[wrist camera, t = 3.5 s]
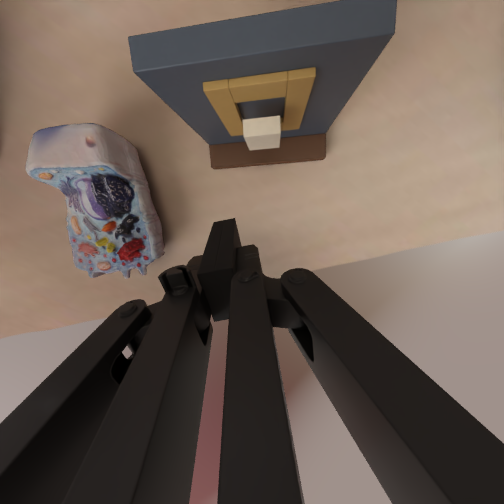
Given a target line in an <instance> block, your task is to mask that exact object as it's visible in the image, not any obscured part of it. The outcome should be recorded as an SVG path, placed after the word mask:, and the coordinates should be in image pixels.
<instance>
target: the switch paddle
mask: <svg viewBox="0 0 504 504" xmlns="http://www.w3.org/2000/svg"><path fill="white" fill-rule="evenodd" d="M243 135H244V139H245V141H246V143H247V146H248V148H249V150H259V149H270V148H279V147H280V135H281V128H280V116H271V117H262V118H253V119H245V120H243Z"/></svg>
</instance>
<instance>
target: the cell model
mask: <svg viewBox="0 0 504 504" xmlns="http://www.w3.org/2000/svg"><path fill="white" fill-rule="evenodd" d="M26 172H27V174H28V175H29V176H30V177H32V178H34V179H36V180H38V181H40V182H43V183H46V184H48V185H51V186H53V187H56V188H58V189H60V190H61V191H62V192H63V193H64V195H65V196H66V204H67V209H68V214H67V218H66V220H67V222H68V225H67V227H66V228H67V230H68V234H69V240H70V244H71V246H72V253H73V257H74V260H73V261H74V264H75V266H76V268H78V269H81V270H86V271H87V272H88V274H89V277H90V278H94V277H98V276H100V275H103V274H106V273H113V272H116V271H121V272H122V273H123V276H124V278H126V279H127V278H129V277H130V270H131V269H132V268H136V269H138V271H139V272H140V274H142V275H146V274H147V270H146V267H147V265H148V264H150V263H151V262H153V261H154V260H155V259H157V258H159V257H161V256H162V255H164V253H165V252H164V251H163V250H164V243H163V237H162V226H161V222H160V219H159V216H158V214H157V212H156V210H155V208H154V205H153V203H152V200H151V196H150V189H149V187H148V182H147V180H146V175H145V173H144V171H143V169H142V166H141V163H140V160H139V155H138V151H137V150H136V148H135V147H134V146H133V145H132V144H131V143H130V142H129V141H127V140H126V139H125V138H123V137H122V136H120V135H118V134H117V133H115V132H114V131H112V130H110V129H108V128H105V127H103V126H101V125H97V124H94V123H82V124H72V125H61V126H55V127H49V128H45V129H41V130H38V131H37V132H35V133H34V134H33V137H32V141H31V144H30V146H29V151H28V158H27V162H26Z"/></svg>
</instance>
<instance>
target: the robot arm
mask: <svg viewBox="0 0 504 504" xmlns="http://www.w3.org/2000/svg"><path fill="white" fill-rule="evenodd" d="M158 278H159V280H160V282H161V284H162V286H163V288H164V291H165V295H164V297H163V299H162V301H160V302H157V303H155V304H152V305H150V306H147V304H146V302H145V301H144V300H141V299H137V300H132V301H130V302H126V303H125V304H124V305H122V306H120V307H119V308H118V309H116V310H115V311H114V312H113V313H112V314H111V315H110V316H109V317H108V318H107V319H106V320H105V321H104V322H103V323H102V324H101V325H100V326H99V327H98V328H97V329H96V330H95V331H94V332H93V333H92V334H91V335H90V336H89V337H88V338H87V339H86V340H85V341H84V342H83V343H82V344H81V345H80V346H79V347H78V348H77V349H76V350H75V351H74V352H72V354H70V356H68V357H67V358H66V359H65V360H64V361H63V362H62V363H61V365H59V367H57V368H56V369H55V370H54V371H53V372H52V373H51V374H50V375H49V376H48V377H47V378H46V379H45V380H44V381H43V382H42V383H41V384H40V385H39V386H38V387H37V388H36V389H35V390H34V391H33V392H32V393H31V394H30V395H29V396H28V397H27V398H26V399H25V400H24V401H23V402H22V403H21V404H20V405H19V406H18V407H17V408H16V409H15V410H14V411H13V412H12V413H11V414H10V415H9V416H8V417H6V418H5V419H4V420H3V422H2V423H1V424H0V504H189V499H190V492H191V485H192V477H193V471H194V463H195V456H196V449H197V441H198V434H199V427H200V419H201V412H202V405H203V398H204V391H205V384H206V376H207V368H208V362H209V355H210V354H209V353H210V347H211V340H212V333H213V328H212V325H211V322H210V318H211V314H212V317H213V319H214V322H215V321H220V320H226V319H229V325H228V341H227V342H228V343H227V359H226V373H225V390H224V406H223V421H222V437H221V454H220V470H219V487H218V502H217V503H218V504H305V503H304V498H303V493H302V487H301V481H300V476H299V471H298V465H297V460H296V454H295V449H294V443H293V437H292V432H291V427H290V421H289V415H288V410H287V404H286V398H285V393H284V388H283V382H282V376H281V371H280V365H279V360H278V354H277V349H276V343H275V338H274V331H273V327H280V328H288V330H289V333H290V334H291V336H292V337H293V339H294V341H295V343H296V344H297V346H298V347H299V349H300V351H301V352H302V354H303V356H304V357H305V359H306V361H307V362H308V364H309V366H310V367H311V369H312V371H313V372H314V374H315V376H316V377H317V379H318V381H319V382H320V384H321V386H322V387H323V389H324V391H325V392H326V394H327V396H328V397H329V399H330V401H331V402H332V404H333V406H334V407H335V409H336V411H337V412H338V414H339V416H340V417H341V419H342V421H343V422H344V424H345V426H346V427H347V429H348V431H349V432H350V434H351V436H352V437H353V439H354V440H355V442H356V444H357V445H358V447H359V449H360V451H361V452H362V454H363V456H364V457H365V459H366V461H367V462H368V464H369V465H370V467H371V469H372V471H373V472H374V474H375V475H376V477H377V479H378V480H379V482H380V484H381V485H382V487H383V489H384V490H385V492H386V494H387V495H388V497H389V498H390V500H391V502H392V504H504V444H503V443H502V442H501V441H500V440H499V439H498V438H497V437H496V436H495V435H493V434H492V433H491V432H490V431H489V430H488V429H486V427H484V426H483V425H482V424H481V423H480V422H479V421H478V420H477V419H476V418H475V417H473V416H472V415H471V414H470V413H469V412H468V411H467V410H466V409H464V408H463V407H462V406H461V405H460V404H459V403H458V402H457V401H456V400H454V399H453V398H452V397H451V396H450V395H449V394H448V393H447V392H445V391H444V390H443V389H442V388H441V387H440V386H439V385H437V383H435V382H434V381H433V380H432V379H431V378H430V377H429V376H428V375H426V374H425V373H424V372H423V371H422V370H421V369H420V368H419V367H418V366H416V365H415V364H414V363H413V362H412V361H411V360H410V359H409V358H408V357H406V356H405V355H404V354H403V353H402V352H401V351H400V350H398V348H396V347H395V346H394V345H393V344H392V343H391V342H390V341H389V340H387V339H386V338H385V337H384V336H383V335H382V334H381V333H380V332H379V331H377V330H376V329H375V328H374V327H373V326H372V325H371V324H370V323H369V322H367V321H366V320H365V319H364V318H363V317H362V316H361V315H360V314H358V313H357V312H356V311H355V310H354V309H353V308H352V307H351V306H349V305H348V304H347V303H346V302H345V301H344V300H343V299H342V298H341V297H340V296H338V295H337V294H336V293H335V292H334V291H333V290H331V288H329V287H328V286H327V285H326V284H325V283H324V282H323V281H322V280H321V279H319V278H318V277H317V276H316V275H315V274H314V273H313V272H311V271H309V270H307V269H303V268H295V269H291V270H288V271H286V272H284V273H283V274H282V275H281V278H280V279H275V278H269V277H267V276H265V275H264V274H263V273H262V268H261V263H260V258H259V252H258V248H257V247H256V246H255V245H248V246H241V242H240V238H239V234H238V229H237V225H236V221H235V218H233V219H228V220H223V221H218V222H214V223H213V226H212V229H211V232H210V235H209V238H208V241H207V244H206V247H205V250H204V253H203V255H200V256H195V257H193V258H192V259H191V260H190V261H189V262H188V264H187V266H185V265H179V266H175V267H172V268H169V269H167V270H165V271H164V272H163V273H161V274H160V275H159V277H158ZM126 346H128V347H129V349H130V350H131V352H132V355H131V356H130V357H129V358H128V359H126V358H125V356H124V355H123V354H122V351H123V350H124V349H125V347H126Z"/></svg>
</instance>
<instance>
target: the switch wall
mask: <svg viewBox="0 0 504 504" xmlns="http://www.w3.org/2000/svg"><path fill="white" fill-rule="evenodd" d="M396 7H397V0H340V1H334V2H328V3H322V4H316V5H311V6H305V7H299V8H293V9H287V10H281V11H275V12H270V13H264V14H258V15H252V16H246V17H240V18H235V19H229V20H223V21H217V22H211V23H205V24H199V25H194V26H188V27H182V28H176V29H170V30H164V31H158V32H153V33H147V34H141V35H135V36H129V37H128V40H129V47H130V53H131V60H132V66H133V71H134V73H135V74H136V75H137V76H138V77H139V78H140V79H141V80H142V81H143V82H144V83H145V84H146V85H148V86H149V87H150V88H151V89H152V90H153V91H154V92H155V93H156V94H157V95H158V96H159V97H160V98H161V99H162V100H163V101H164V102H165V103H166V104H167V105H168V106H169V107H170V108H171V109H173V110H174V111H175V112H176V113H177V114H178V115H179V116H180V117H181V118H182V119H183V120H184V121H185V122H186V123H187V124H188V125H189V126H190V127H191V128H192V129H193V130H194V131H195V132H197V133H198V134H199V135H200V136H201V137H202V138H203V139H204V140H205V141H206V142H207V143H208V144H209V148H210V158H211V167H212V168H213V169H223V168H235V167H246V166H258V165H269V164H280V163H292V162H303V161H315V160H323V159H324V158H325V157H326V132H327V130H328V129H329V127H330V126H331V125H332V123H333V122H334V120H335V119H336V117H337V116H338V114H339V113H340V111H341V110H342V109H343V107H344V106H345V104H346V103H347V101H348V100H349V98H350V97H351V96H352V94H353V93H354V91H355V90H356V88H357V87H358V85H359V84H360V83H361V81H362V80H363V78H364V77H365V75H366V74H367V72H368V71H369V70H370V68H371V67H372V65H373V64H374V62H375V61H376V59H377V58H378V57H379V55H380V54H381V52H382V51H383V49H384V48H385V46H386V45H387V44H388V42H389V41H390V39H391V38H392V36H393V35H394V33H395V23H396ZM271 116H280V128H281V135H280V147H279V148H270V149H259V150H249V148H248V146H247V143H246V141H245V139H244V135H243V120H245V119H253V118H262V117H271Z"/></svg>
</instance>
